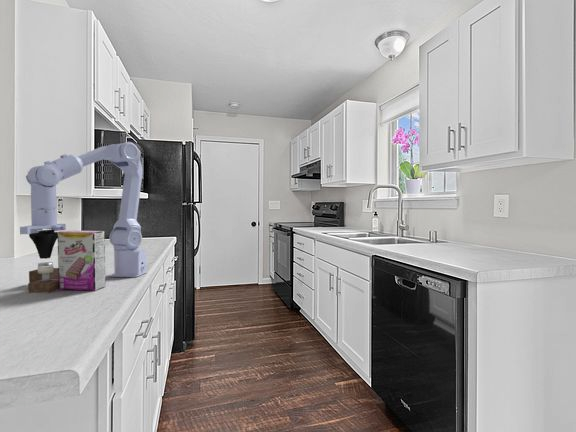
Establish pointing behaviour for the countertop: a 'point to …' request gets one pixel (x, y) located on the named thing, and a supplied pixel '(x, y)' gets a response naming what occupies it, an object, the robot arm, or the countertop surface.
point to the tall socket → (36, 276)
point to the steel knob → (45, 264)
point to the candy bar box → (81, 260)
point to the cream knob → (45, 272)
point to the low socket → (43, 286)
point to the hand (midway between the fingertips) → (45, 258)
